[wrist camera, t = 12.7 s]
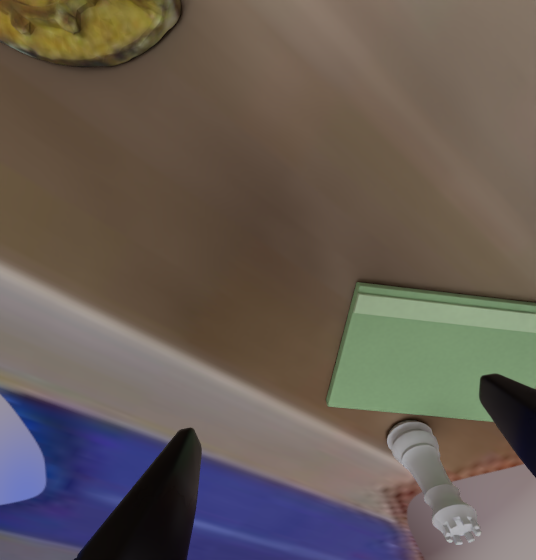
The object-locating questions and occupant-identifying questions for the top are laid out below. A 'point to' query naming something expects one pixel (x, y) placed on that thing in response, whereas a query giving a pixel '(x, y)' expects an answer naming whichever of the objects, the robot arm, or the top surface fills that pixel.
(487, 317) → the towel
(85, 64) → the olive lumpy piece
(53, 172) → the top surface
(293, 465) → the top surface
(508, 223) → the top surface
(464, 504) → the rook chess piece
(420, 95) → the top surface
